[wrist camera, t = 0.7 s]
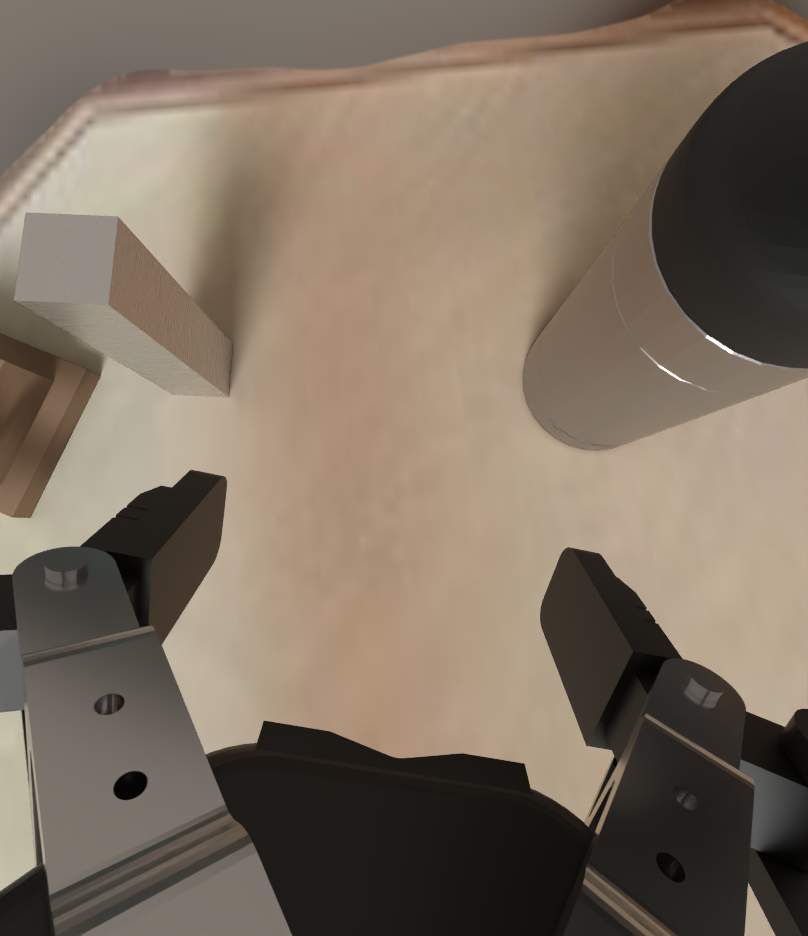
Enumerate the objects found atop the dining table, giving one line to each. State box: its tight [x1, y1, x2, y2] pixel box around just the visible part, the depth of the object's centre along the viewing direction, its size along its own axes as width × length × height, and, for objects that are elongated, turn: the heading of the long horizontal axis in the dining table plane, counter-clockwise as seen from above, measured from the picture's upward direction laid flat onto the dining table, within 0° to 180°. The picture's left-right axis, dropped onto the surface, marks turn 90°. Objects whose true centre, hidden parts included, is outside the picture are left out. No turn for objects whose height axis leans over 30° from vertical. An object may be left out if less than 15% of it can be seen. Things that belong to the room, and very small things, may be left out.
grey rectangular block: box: [14, 213, 233, 397], centre depth 27 cm, size 4×4×14 cm
